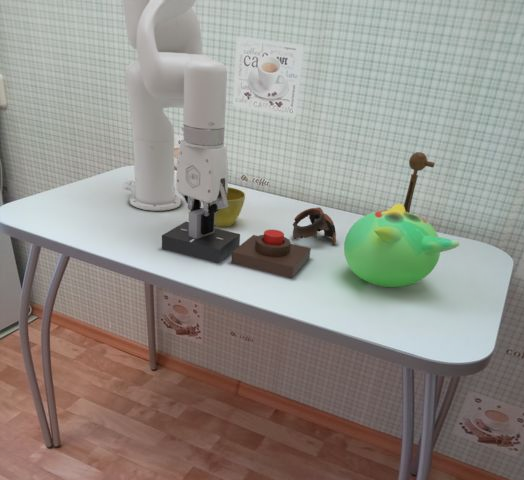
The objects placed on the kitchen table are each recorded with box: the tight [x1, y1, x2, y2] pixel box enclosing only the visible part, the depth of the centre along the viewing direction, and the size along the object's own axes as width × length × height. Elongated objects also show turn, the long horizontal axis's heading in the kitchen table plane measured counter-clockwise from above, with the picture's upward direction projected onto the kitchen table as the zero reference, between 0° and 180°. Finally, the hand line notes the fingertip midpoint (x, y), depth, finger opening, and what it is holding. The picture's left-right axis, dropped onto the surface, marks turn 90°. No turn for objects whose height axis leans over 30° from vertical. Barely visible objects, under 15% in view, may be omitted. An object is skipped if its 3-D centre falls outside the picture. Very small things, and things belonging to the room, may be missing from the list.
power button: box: [263, 229, 285, 245], centre depth 102 cm, size 4×4×2 cm
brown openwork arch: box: [292, 207, 337, 246], centre depth 116 cm, size 12×10×8 cm
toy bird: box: [343, 203, 460, 288], centre depth 97 cm, size 18×17×15 cm
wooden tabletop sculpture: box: [403, 151, 435, 213], centre depth 116 cm, size 6×5×20 cm
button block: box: [230, 234, 312, 279], centre depth 103 cm, size 13×11×4 cm
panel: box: [161, 220, 241, 264], centre depth 106 cm, size 13×10×3 cm
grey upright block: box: [188, 207, 216, 239], centre depth 104 cm, size 6×2×5 cm, turn 143°
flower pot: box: [202, 186, 246, 228], centre depth 119 cm, size 10×10×7 cm
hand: (201, 230), depth 105 cm, fingers closed on grey upright block, 2 cm apart
